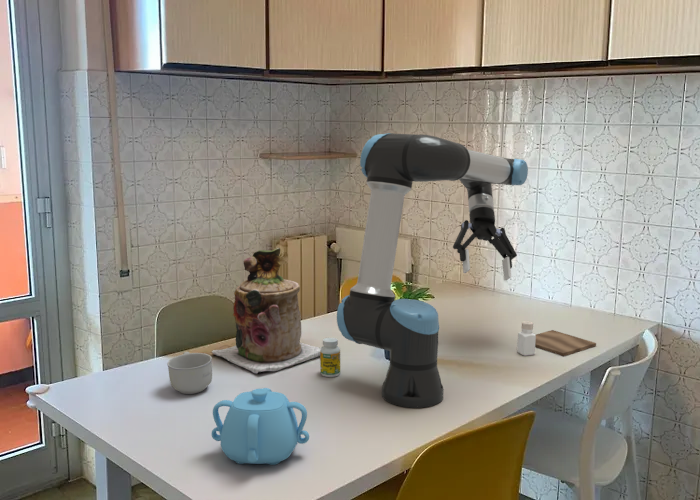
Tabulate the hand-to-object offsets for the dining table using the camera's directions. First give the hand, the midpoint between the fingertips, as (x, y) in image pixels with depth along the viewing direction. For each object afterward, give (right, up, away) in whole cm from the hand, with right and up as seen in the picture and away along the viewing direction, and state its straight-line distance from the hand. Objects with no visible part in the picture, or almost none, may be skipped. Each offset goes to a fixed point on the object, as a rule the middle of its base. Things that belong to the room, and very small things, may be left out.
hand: (487, 275), depth 198 cm
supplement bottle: (-45, -26, -15) cm, 55 cm away
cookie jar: (-63, -23, -1) cm, 68 cm away
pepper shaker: (+12, -23, +2) cm, 26 cm away
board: (+24, -22, +11) cm, 34 cm away
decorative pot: (-58, -34, -59) cm, 90 cm away
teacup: (-80, -28, -25) cm, 89 cm away
